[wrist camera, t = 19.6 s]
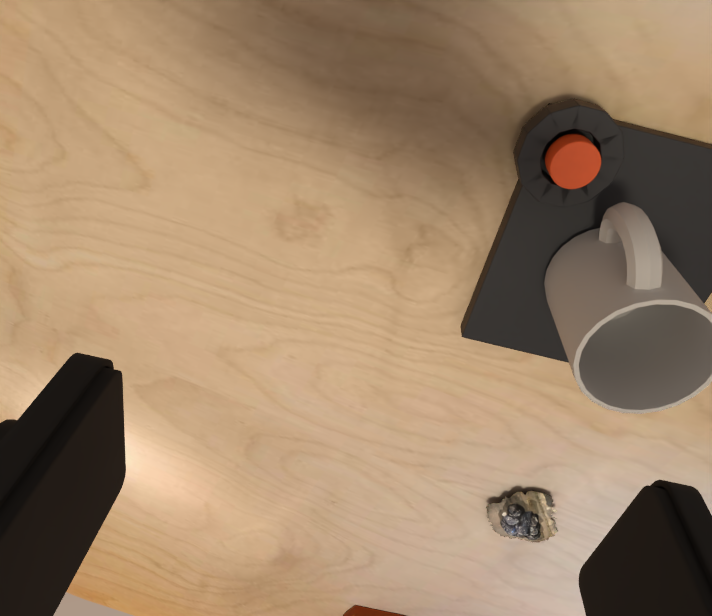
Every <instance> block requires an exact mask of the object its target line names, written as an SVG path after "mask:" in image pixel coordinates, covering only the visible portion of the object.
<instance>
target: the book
mask: <svg viewBox="0 0 712 616" xmlns="http://www.w3.org/2000/svg"><path fill="white" fill-rule="evenodd" d="M343 616H404V615H400V614H395V613H390V612H385V611H381V610H376V609H371V608H366V607H361V606H356V605H355V606H353V607H352V608H351V609H349V610H348V611H347V612H346V613H345V614H344V615H343Z"/></svg>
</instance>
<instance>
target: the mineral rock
mask: <svg viewBox="0 0 712 616" xmlns="http://www.w3.org/2000/svg"><path fill="white" fill-rule="evenodd" d="M552 502H553V500H552V499H551V496H550V495H549V496H548V494H545V493H543V494H542V493H540V492H539V493H538V492H533V490H532V491H528V492H527V493H526V495H524V494H523V493H522V492H516V493H515V494H513V495H512V496H511V497H510V498H506V497H505V499H502V502H501V503H497V504H496V503H492V504H488V507H486V508H487V509H488V510H489V511H488V512H487V514H488V518H489V520H488V521H489V522H491V523H492V525H491V526H492V528H493V530H494V531H495V532H497V533H498V534H500V536H504V537H507V536H508V537H509V538H511V539H512V538H516V537H517V538H518V539H520V540H527V541H531V542H540V541H543V540H546V539H547V540H548V539H549V537H552V536H555V535H554V534H555V533H556V532H557V531H558V530H556V529H557V528H555V524H556V523H555V522H554V521H553V520H551V519H550V518H551V517H552V516H551V514H552V512H556V511H557V510H555V509H551V508H552V507H553V506H552ZM552 518H554V517H552ZM555 519H557V518H555ZM499 525H500V526H499Z"/></svg>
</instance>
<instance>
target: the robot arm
mask: <svg viewBox="0 0 712 616" xmlns="http://www.w3.org/2000/svg"><path fill="white" fill-rule="evenodd" d="M125 473H126V465H125V437H124V410H123V382H122V373H121V371H118V370H114V368H113V363H112V361H111V360H108V359H104V358H99V357H94V356H90V355H85V354H81V353H75V354H73V355H72V356H71V357H70V358H69V359H68V360H67V361H66V363H65V364H64V365H63V366H62V367H61V369H60V370H59V371H58V372H57V373H56V375H55V376H54V377H53V378H52V379H51V381H50V382H49V383H48V384H47V385H46V387H45V388H44V389H43V390H42V391H41V393H40V394H39V395H38V396H37V397H36V399H35V400H34V401H33V402H32V404H31V405H30V406H29V407H28V408H27V410H26V411H25V412H24V413H23V414H22V416H21V417H20V418H19V419H18V420H5V421H3V422H1V423H0V616H53V615H54V613H55V611H56V609H57V607H58V606H59V604H60V602H61V600H62V598H63V596H64V595H65V593H66V591H67V589H68V587H69V585H70V583H71V582H72V580H73V578H74V576H75V574H76V572H77V570H78V569H79V567H80V565H81V563H82V561H83V559H84V557H85V556H86V554H87V552H88V550H89V548H90V546H91V544H92V543H93V541H94V539H95V537H96V535H97V533H98V531H99V529H100V528H101V526H102V524H103V522H104V520H105V518H106V516H107V515H108V513H109V511H110V509H111V507H112V505H113V503H114V502H115V500H116V498H117V496H118V494H119V492H120V490H121V488H122V485H123V482H124V479H125ZM579 588H580V592H581V596H582V600H583V604H584V608H585V612H586V616H712V516H711V514H710V512H709V510H708V508H707V506H706V504H705V502H704V500H703V498H702V496H701V494H700V493H699V492H698V490H697V489H695V488H694V487H691V486H687V485H682V484H678V483H673V482H668V481H664V480H657V481H655V482H654V483H653V484H652V485H651V486H645V487H644V488H643V489H642V490H641V491H640V492H639V493H638V495H637V496H636V497H635V499H634V500H633V501H632V503H631V504H630V505H629V506H628V508H627V509H626V510H625V512H624V513H623V514H622V516H621V517H620V518H619V519H618V521H617V522H616V523H615V525H614V526H613V527H612V529H611V530H610V531H609V532H608V534H607V535H606V536H605V538H604V539H603V540H602V542H601V543H600V544H599V546H598V547H597V548H596V549H595V551H594V552H593V553H592V555H591V556H590V557H589V559H588V560H587V561H586V562H585V564H584V565H583V566H582V568H581V570H580V574H579Z"/></svg>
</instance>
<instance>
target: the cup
mask: <svg viewBox="0 0 712 616" xmlns="http://www.w3.org/2000/svg"><path fill="white" fill-rule="evenodd" d="M544 286H545V292H546V298H547V302H548V305H549V308H550V310H551V313H552V316H553V319H554V322H555V324H556V327H557V330H558V333H559V336H560V338H561V341H562V344H563V347H564V349H565V352H566V355H567V358H568V361H569V363H570V366H571V369H572V372H573V375H574V377H575V380H576V382H577V384H578V386H579V388H580V389H581V391H582V392H583V393H584V394H585V395H586V396H587V397H588V398H589V399H590V400H591V401H592V402H594V403H596V404H598V405H600V406H602V407H604V408H606V409H609V410H613V411H617V412H621V413H637V414H642V413H649V412H657V411H662V410H665V409H668V408H671V407H674V406H677V405H679V404H681V403H683V402H685V401H687V400H689V399H691V398H692V397H694V396H696V395H697V394H698V393H700V392H701V391H702V390H703V389H704V388H706V387H707V386H708V385H709V384H710V383H711V382H712V313H711V312H710V311H709V309H708V308H707V307H706V306H705V304H704V303H703V302H702V301H701V299H700V298H699V297H698V296H697V294H696V293H695V292H694V291H693V289H692V288H691V287H690V286H689V284H688V283H687V282H686V281H685V279H684V278H683V277H682V276H681V274H680V273H679V272H678V271H677V269H676V268H675V267H674V266H673V264H672V263H671V262H670V261H669V259H668V258H667V257H666V256H665V254H664V253H663V252H662V251H661V247H660V244H659V241H658V238H657V235H656V232H655V230H654V227H653V225H652V224H651V222H650V220H649V218H648V216H647V215H646V214H645V213H644V212H643V210H642V209H640V208H639V207H637V206H635V205H632V204H629V203H625V202H622V203H618V204H616V205H614V206H612V207H610V208H608V209H607V210H606V212H605V214H604V216H603V219H602V222H601V227H600V228H598V229H593V230H589V231H587V232H585V233H583V234H580V235H578V236H576V237H574V238H573V239H572V240H570V241H569V242H568V243H566V244H565V245H564V246H562V247H561V248H560V250H559V251H558V252H557V253H556V254H555V256H554V257H553V258H552V260H551V262H550V264H549V266H548V268H547V270H546V275H545V281H544Z"/></svg>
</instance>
